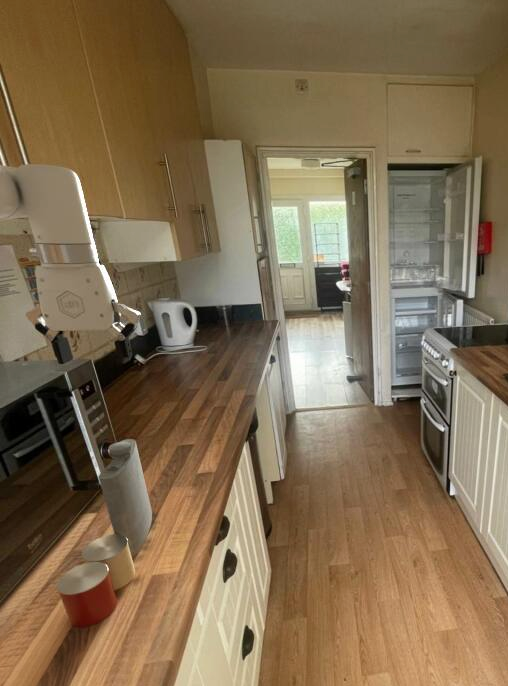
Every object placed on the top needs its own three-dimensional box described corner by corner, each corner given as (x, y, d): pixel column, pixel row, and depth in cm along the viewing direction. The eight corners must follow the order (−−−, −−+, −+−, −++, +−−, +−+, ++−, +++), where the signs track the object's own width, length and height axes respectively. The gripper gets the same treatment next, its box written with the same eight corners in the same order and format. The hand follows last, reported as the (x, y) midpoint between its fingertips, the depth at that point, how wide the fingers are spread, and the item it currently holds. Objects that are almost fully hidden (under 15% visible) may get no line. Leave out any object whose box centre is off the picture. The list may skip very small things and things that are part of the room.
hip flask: (137, 510, 94) (117, 428, 86) (157, 507, 96) (139, 426, 88) (118, 559, 80) (92, 467, 73) (142, 555, 82) (119, 464, 74)
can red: (59, 629, 66) (46, 595, 64) (83, 595, 73) (72, 562, 70) (105, 626, 67) (94, 592, 64) (125, 592, 73) (116, 560, 70)
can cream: (83, 594, 73) (72, 562, 70) (103, 565, 79) (94, 535, 76) (125, 591, 73) (116, 560, 71) (142, 563, 80) (134, 533, 77)
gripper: (-9, 256, 63) (28, 368, 69) (115, 258, 64) (139, 367, 71) (25, 254, 69) (55, 356, 76) (137, 255, 71) (157, 355, 78)
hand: (96, 361), depth 74 cm, fingers open, 9 cm apart
